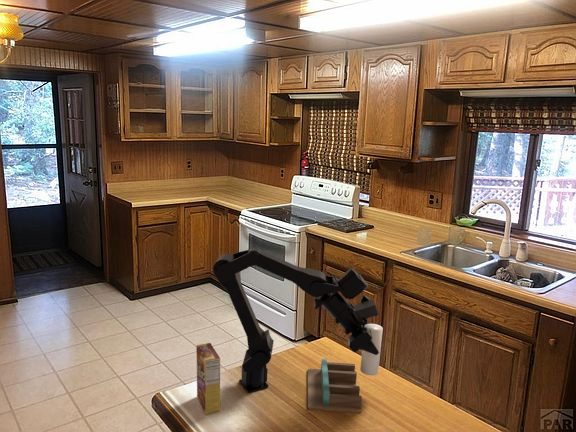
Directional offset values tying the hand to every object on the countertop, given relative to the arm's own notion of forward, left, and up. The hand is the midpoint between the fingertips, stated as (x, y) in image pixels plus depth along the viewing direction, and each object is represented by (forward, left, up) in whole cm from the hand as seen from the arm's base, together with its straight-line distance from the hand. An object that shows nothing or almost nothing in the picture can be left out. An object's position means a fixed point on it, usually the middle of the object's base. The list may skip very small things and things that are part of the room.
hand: (376, 349), depth 130 cm
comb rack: (-10, +6, -13) cm, 17 cm away
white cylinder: (-1, +1, -7) cm, 7 cm away
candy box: (-43, +15, -13) cm, 48 cm away
